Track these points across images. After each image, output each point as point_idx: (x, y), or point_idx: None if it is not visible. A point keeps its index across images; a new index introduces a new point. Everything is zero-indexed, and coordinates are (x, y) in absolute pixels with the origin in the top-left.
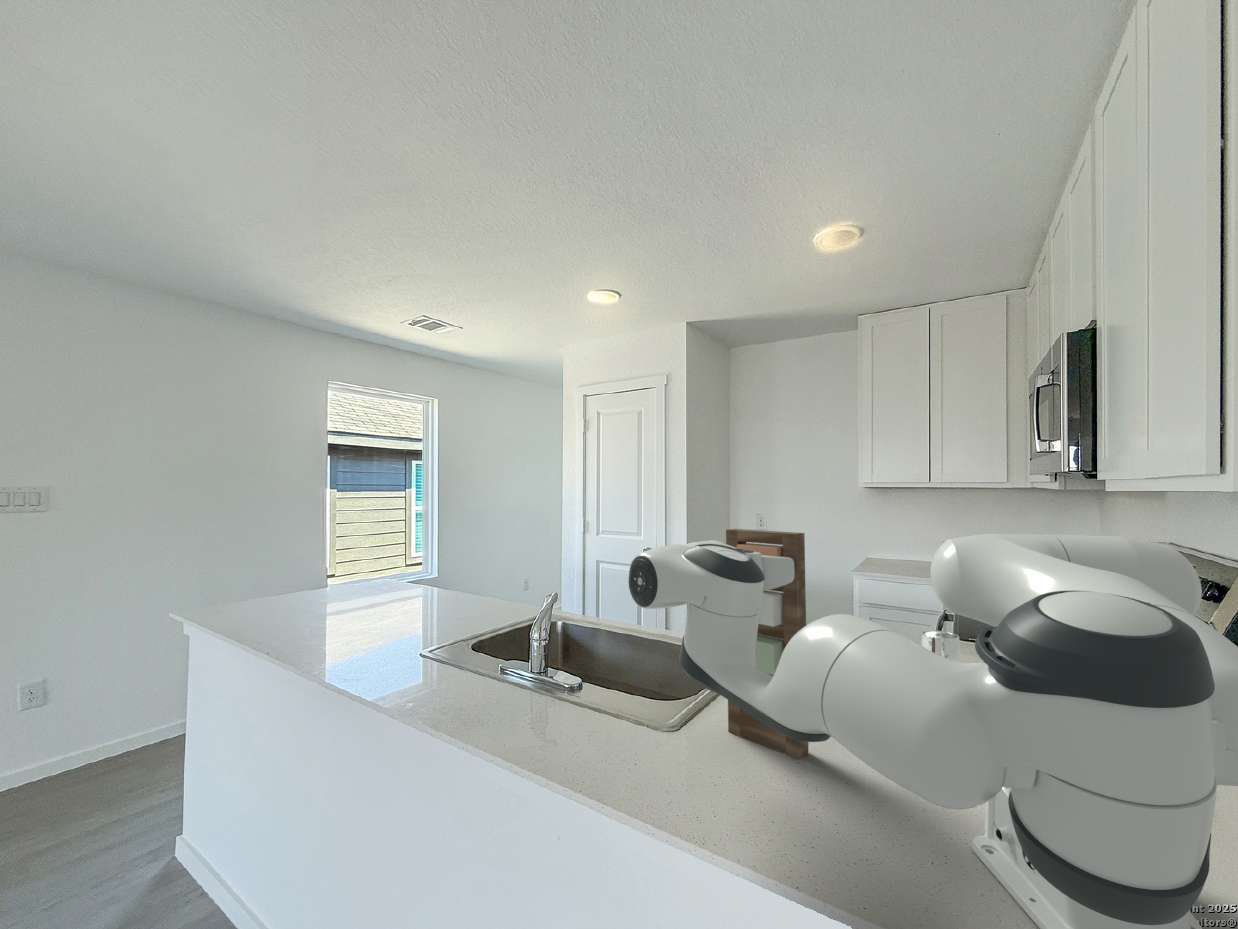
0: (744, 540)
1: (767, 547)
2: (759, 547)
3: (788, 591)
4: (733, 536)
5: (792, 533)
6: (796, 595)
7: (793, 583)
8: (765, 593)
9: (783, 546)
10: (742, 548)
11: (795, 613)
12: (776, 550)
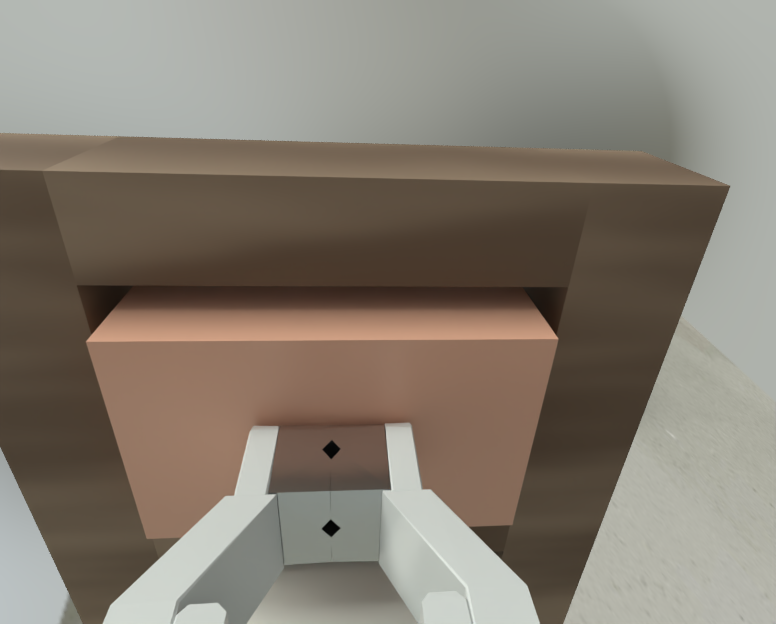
0: (160, 273)
1: (459, 340)
2: (370, 346)
3: (538, 543)
4: (8, 240)
5: (656, 174)
6: (587, 553)
7: (584, 505)
8: (402, 602)
9: (573, 298)
10: (169, 371)
11: (554, 613)
12: (552, 358)
